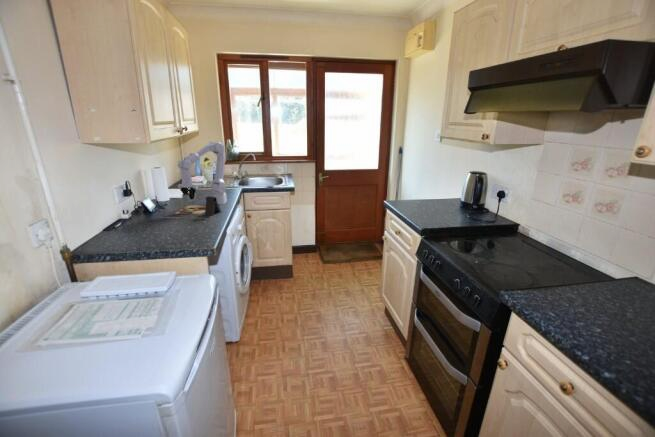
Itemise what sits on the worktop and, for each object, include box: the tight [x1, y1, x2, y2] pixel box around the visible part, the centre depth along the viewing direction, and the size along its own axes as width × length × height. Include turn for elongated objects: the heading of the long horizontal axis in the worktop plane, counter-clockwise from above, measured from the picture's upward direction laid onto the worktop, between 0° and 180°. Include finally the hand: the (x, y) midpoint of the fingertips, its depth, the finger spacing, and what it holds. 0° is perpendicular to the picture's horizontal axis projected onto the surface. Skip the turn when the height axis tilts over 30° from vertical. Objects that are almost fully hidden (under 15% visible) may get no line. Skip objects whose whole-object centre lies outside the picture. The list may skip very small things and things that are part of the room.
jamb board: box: [174, 205, 206, 215], centre depth 201 cm, size 18×18×2 cm
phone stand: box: [204, 196, 222, 217], centre depth 191 cm, size 9×6×12 cm, turn 158°
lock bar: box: [181, 191, 197, 203], centre depth 195 cm, size 8×4×5 cm, turn 162°
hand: (189, 198), depth 196 cm, fingers closed on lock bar, 4 cm apart
